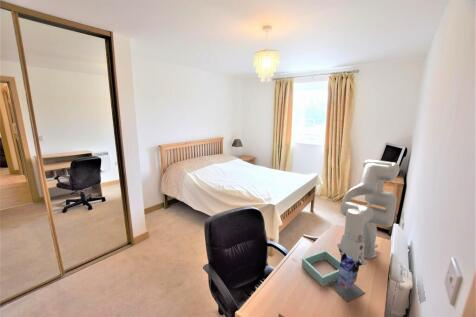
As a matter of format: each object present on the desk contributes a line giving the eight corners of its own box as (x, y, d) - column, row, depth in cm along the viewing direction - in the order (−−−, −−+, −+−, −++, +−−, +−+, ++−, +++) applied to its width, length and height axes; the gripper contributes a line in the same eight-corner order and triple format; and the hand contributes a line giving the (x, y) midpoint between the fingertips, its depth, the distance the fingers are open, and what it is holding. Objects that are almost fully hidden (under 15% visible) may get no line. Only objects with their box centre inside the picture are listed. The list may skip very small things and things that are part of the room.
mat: (346, 277, 114) (346, 276, 114) (364, 293, 105) (364, 292, 105) (329, 284, 110) (329, 284, 110) (347, 302, 100) (347, 301, 100)
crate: (325, 257, 130) (325, 249, 129) (347, 275, 116) (347, 267, 115) (301, 265, 124) (302, 258, 123) (322, 286, 109) (322, 277, 108)
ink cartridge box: (348, 290, 101) (350, 264, 98) (336, 283, 105) (339, 258, 102) (357, 280, 107) (360, 255, 104) (346, 274, 111) (349, 250, 108)
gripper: (376, 242, 94) (371, 276, 98) (343, 224, 109) (340, 254, 113) (364, 247, 91) (359, 282, 95) (332, 227, 106) (329, 258, 111)
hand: (349, 266), depth 104 cm, fingers closed on ink cartridge box, 6 cm apart
